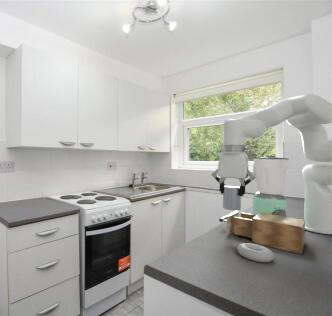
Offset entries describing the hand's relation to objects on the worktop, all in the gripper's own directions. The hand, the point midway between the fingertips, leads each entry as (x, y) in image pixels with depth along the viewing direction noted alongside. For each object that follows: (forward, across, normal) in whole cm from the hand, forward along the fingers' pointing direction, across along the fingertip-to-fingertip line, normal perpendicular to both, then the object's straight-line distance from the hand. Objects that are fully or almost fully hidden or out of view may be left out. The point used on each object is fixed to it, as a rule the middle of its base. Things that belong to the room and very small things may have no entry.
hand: (231, 194), depth 89 cm
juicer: (+19, -7, -34) cm, 40 cm away
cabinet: (+19, -13, -12) cm, 26 cm away
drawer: (+18, -2, -12) cm, 22 cm away
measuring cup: (+6, 0, 0) cm, 6 cm away
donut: (+19, -10, +10) cm, 24 cm away
